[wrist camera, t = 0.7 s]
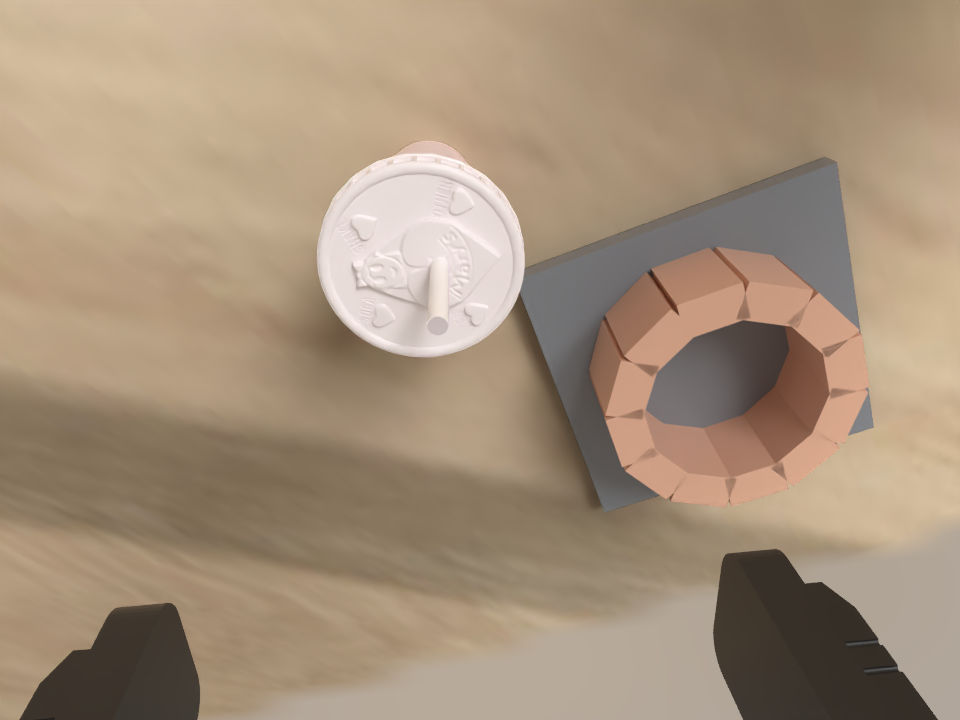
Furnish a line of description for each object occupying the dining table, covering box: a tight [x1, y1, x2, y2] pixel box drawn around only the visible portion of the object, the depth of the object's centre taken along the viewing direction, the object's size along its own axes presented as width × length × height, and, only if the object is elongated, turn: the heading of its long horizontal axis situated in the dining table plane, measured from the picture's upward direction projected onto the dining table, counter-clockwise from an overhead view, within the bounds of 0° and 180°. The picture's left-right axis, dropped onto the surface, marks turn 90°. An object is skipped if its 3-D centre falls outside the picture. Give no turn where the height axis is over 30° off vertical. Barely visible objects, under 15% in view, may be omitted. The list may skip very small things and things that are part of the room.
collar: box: [520, 157, 874, 512], centre depth 32 cm, size 14×14×5 cm
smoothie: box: [317, 141, 525, 357], centre depth 24 cm, size 6×6×14 cm
